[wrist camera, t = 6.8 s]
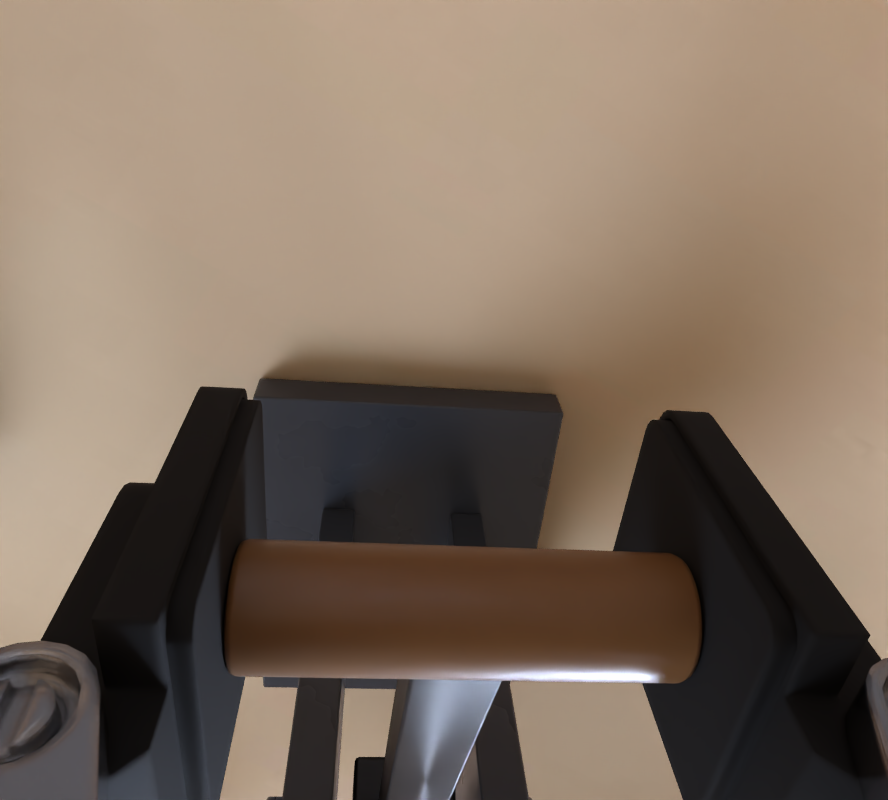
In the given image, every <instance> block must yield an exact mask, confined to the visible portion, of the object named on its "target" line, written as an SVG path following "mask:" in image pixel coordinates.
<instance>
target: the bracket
mask: <svg viewBox="0 0 888 800" xmlns="http://www.w3.org/2000/svg"><path fill="white" fill-rule="evenodd" d="M253 400H260V401H261V403H262V413H263V443H264V472H265V501H266V530H267V539H271V540H301V541H330V542H359V543H389V544H418V545H448V546H477V547H507V548H536V549H537V544H538V539H539V534H540V529H541V524H542V519H543V514H544V509H545V504H546V499H547V494H548V489H549V484H550V479H551V474H552V468H553V463H554V458H555V453H556V448H557V443H558V438H559V433H560V428H561V423H562V418H563V412H562V409H561V407H560V404H559V402H558V399H557V397H556V395H554V394H536V393H518V392H500V391H482V390H463V389H445V388H427V387H409V386H390V385H372V384H354V383H336V382H317V381H299V380H281V379H263V378H262V379H260V380H259V383H258V386H257V389H256V391H255V394H254V397H253ZM263 685H264V687H293V688H298V689H297V696H296V703H295V710H294V717H293V725H292V732H291V739H290V746H289V753H288V761H287V768H286V775H285V782H284V790H283V797H268V798H267V800H337V793H338V779H339V765H340V750H341V736H342V722H343V708H344V694H345V688H361V689H396V685H397V679H363V678H301V677H263ZM455 789H456V800H532V798H530V797H529V796H528V790H527V784H526V778H525V772H524V766H523V760H522V754H521V748H520V742H519V736H518V730H517V724H516V718H515V712H514V706H513V700H512V694H511V689H510V681H502V682H501V684H500V687H499V689H498V691H497V694H496V696H495V698H494V700H493V703H492V705H491V707H490V710H489V712H488V714H487V716H486V719H485V721H484V723H483V725H482V728H481V730H480V732H479V735H478V737H477V739H476V741H475V744H474V746H473V748H472V750H471V753H470V755H469V757H468V760H467V762H466V764H465V766H464V769H463V771H462V773H461V776H460V778H459V780H458V782H457V785H456V787H455Z"/></svg>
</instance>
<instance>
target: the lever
mask: <svg viewBox="0 0 888 800" xmlns="http://www.w3.org/2000/svg"><path fill="white" fill-rule="evenodd" d="M701 644H702V612H701V604H700V599H699V594H698V590H697V586H696V583H695V580H694V578H693V575H692V573H691V571H690V569H689V567H688V566H687V564H686V563H685V562H684V561H683V560H682V559H681V558H680V557H678V556H675V555H673V554H671V553H654V552H625V551H595V550H566V549H536V548H507V547H477V546H448V545H418V544H389V543H359V542H330V541H301V540H271V539H247V540H245V541H242V542H241V543H240V545H239V547H238V549H237V551H236V554H235V556H234V559H233V563H232V567H231V571H230V576H229V581H228V587H227V594H226V602H225V613H224V630H223V647H224V658H225V663H226V667H227V670H228V672H229V673H230V674H232V675H234V676H239V677H301V678H363V679H397V685H396V691H395V697H394V704H393V710H392V716H391V723H390V729H389V735H388V741H387V748H386V754H385V757H358V758H356V760H355V766H354V783H353V800H456V789H455V787H456V785H457V782H458V780H459V778H460V776H461V773H462V771H463V769H464V766H465V764H466V762H467V760H468V757H469V755H470V753H471V750H472V748H473V746H474V744H475V741H476V739H477V737H478V735H479V732H480V730H481V728H482V725H483V723H484V721H485V719H486V716H487V714H488V712H489V710H490V707H491V705H492V703H493V700H494V698H495V696H496V694H497V691H498V689H499V687H500V684H501V682H502V681H549V682H611V683H673V684H676V683H680V682H683V681H685V680H687V679H688V678H689V677H690V676H691V675H692V674H693V672H694V670H695V668H696V666H697V663H698V660H699V656H700V651H701Z"/></svg>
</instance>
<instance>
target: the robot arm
mask: <svg viewBox="0 0 888 800" xmlns="http://www.w3.org/2000/svg"><path fill="white" fill-rule="evenodd" d="M247 539H267V530H266V501H265V472H264V443H263V413H262V403H261V401H260V400H247V393H246V390H245V389H242V388H222V387H200V389H199V390H198V392H197V394H196V396H195V398H194V400H193V403H192V405H191V407H190V409H189V411H188V413H187V415H186V417H185V420H184V422H183V424H182V426H181V428H180V430H179V432H178V435H177V437H176V439H175V441H174V443H173V445H172V447H171V449H170V452H169V454H168V456H167V458H166V460H165V462H164V464H163V467H162V469H161V471H160V473H159V475H158V477H157V479H156V481H155V483H128V484H126V485H124V486H123V488H122V489H121V491H120V492H119V494H118V495H117V497H116V499H115V501H114V503H113V505H112V507H111V509H110V511H109V512H108V514H107V516H106V518H105V520H104V522H103V524H102V526H101V528H100V529H99V531H98V533H97V535H96V537H95V539H94V541H93V543H92V545H91V546H90V548H89V550H88V552H87V554H86V556H85V558H84V560H83V562H82V563H81V565H80V567H79V569H78V571H77V573H76V575H75V577H74V579H73V580H72V582H71V584H70V586H69V588H68V590H67V592H66V594H65V596H64V597H63V599H62V601H61V603H60V605H59V607H58V609H57V611H56V613H55V614H54V616H53V618H52V620H51V622H50V624H49V626H48V628H47V630H46V631H45V633H44V635H43V637H42V639H41V641H36V642H24V643H16V644H12V645H9V646H5V647H2V648H0V800H219V799H220V794H221V789H222V785H223V780H224V775H225V770H226V766H227V761H228V756H229V751H230V747H231V742H232V737H233V732H234V728H235V723H236V718H237V713H238V709H239V704H240V699H241V694H242V690H243V685H244V680H245V677H239V676H234V675H232V674H230V673H229V672H228V670H227V667H226V663H225V658H224V647H223V630H224V613H225V602H226V594H227V587H228V581H229V576H230V571H231V567H232V563H233V559H234V556H235V554H236V551H237V549H238V547H239V545H240V543H241V542H242V541H245V540H247ZM613 551H625V552H654V553H671V554H673V555H675V556H678V557H680V558H681V559H682V560H683V561H684V562H685V563H686V564H687V566H688V567H689V569H690V571H691V573H692V575H693V578H694V580H695V583H696V586H697V590H698V594H699V599H700V604H701V612H702V644H701V651H700V656H699V660H698V663H697V666H696V668H695V670H694V672H693V674H692V675H691V676H690V677H689V678H688V679H687V680H685V681H683V682H680V683H676V684H673V683H642V684H643V687H644V690H645V692H646V695H647V698H648V701H649V704H650V707H651V710H652V712H653V715H654V718H655V721H656V724H657V727H658V730H659V732H660V735H661V738H662V741H663V744H664V747H665V749H666V752H667V755H668V758H669V761H670V764H671V767H672V769H673V772H674V775H675V778H676V781H677V784H678V786H679V789H680V792H681V795H682V798H683V800H888V658H885V659H882V660H881V658H880V657H879V656H878V654H877V653H876V651H875V650H874V649H873V647H872V646H871V644H870V643H869V642H868V638H869V637H870V634H869V633H868V631H867V630H866V628H865V627H864V626H863V624H862V623H861V621H860V620H859V619H858V617H857V616H856V615H855V613H854V612H853V610H852V609H851V608H850V606H849V605H848V603H847V602H846V601H845V599H844V598H843V597H842V595H841V594H840V592H839V591H838V590H837V588H836V587H835V585H834V584H833V583H832V581H831V580H830V579H829V577H828V576H827V574H826V573H825V572H824V570H823V569H822V567H821V566H820V565H819V563H818V562H817V561H816V559H815V558H814V556H813V555H812V554H811V552H810V551H809V549H808V548H807V547H806V545H805V544H804V543H803V541H802V540H801V538H800V537H799V536H798V534H797V533H796V531H795V530H794V529H793V527H792V526H791V524H790V523H789V522H788V520H787V519H786V518H785V516H784V515H783V513H782V512H781V511H780V509H779V508H778V506H777V505H776V504H775V502H774V501H773V500H772V498H771V497H770V495H769V494H768V493H767V491H766V490H765V488H764V487H763V486H762V484H761V483H760V482H759V480H758V479H757V477H756V476H755V475H754V473H753V472H752V470H751V469H750V468H749V466H748V465H747V464H746V462H745V461H744V459H743V458H742V457H741V455H740V454H739V452H738V451H737V450H736V448H735V447H734V446H733V444H732V443H731V441H730V440H729V439H728V437H727V436H726V434H725V433H724V432H723V430H722V429H721V428H720V426H719V425H718V423H717V422H716V421H715V419H714V418H713V416H711V415H710V414H709V413H707V412H692V411H672V410H667V411H665V412H664V413H663V414H662V416H661V417H660V420H652V421H650V422H649V424H648V425H647V428H646V431H645V435H644V438H643V442H642V446H641V449H640V453H639V457H638V461H637V464H636V468H635V472H634V475H633V479H632V483H631V486H630V490H629V494H628V498H627V501H626V505H625V509H624V512H623V516H622V520H621V523H620V527H619V531H618V535H617V538H616V542H615V546H614V549H613Z"/></svg>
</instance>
